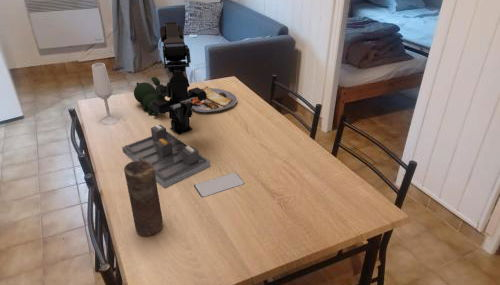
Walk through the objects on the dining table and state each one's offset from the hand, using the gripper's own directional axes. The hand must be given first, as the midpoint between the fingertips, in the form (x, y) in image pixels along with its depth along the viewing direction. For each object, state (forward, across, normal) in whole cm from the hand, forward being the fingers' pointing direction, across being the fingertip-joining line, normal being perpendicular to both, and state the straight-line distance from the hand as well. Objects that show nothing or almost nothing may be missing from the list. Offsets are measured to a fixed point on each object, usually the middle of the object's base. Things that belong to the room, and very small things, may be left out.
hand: (181, 122), depth 128 cm
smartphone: (+12, +3, +24) cm, 27 cm away
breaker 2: (+9, +4, +10) cm, 14 cm away
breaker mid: (+9, +8, 0) cm, 12 cm away
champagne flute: (+12, +10, -40) cm, 43 cm away
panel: (+12, +8, 0) cm, 14 cm away
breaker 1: (+9, +4, -10) cm, 14 cm away
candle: (+12, +29, +26) cm, 41 cm away
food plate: (+12, -32, -27) cm, 44 cm away
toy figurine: (+12, -8, -37) cm, 40 cm away
